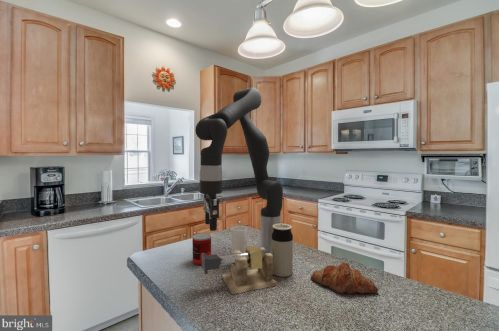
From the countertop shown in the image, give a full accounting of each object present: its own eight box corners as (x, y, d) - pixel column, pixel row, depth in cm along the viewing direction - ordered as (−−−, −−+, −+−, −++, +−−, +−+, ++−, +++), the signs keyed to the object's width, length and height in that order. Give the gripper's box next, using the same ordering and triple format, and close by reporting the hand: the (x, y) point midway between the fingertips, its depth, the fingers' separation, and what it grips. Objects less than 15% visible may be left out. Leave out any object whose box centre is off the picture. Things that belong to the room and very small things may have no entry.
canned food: (213, 258, 110) (213, 233, 110) (208, 266, 102) (208, 239, 102) (196, 257, 111) (195, 232, 111) (190, 265, 103) (189, 238, 103)
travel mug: (292, 278, 92) (292, 229, 91) (270, 276, 93) (270, 228, 93) (292, 268, 100) (293, 223, 99) (272, 267, 101) (272, 222, 101)
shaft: (263, 257, 94) (263, 244, 94) (269, 263, 89) (269, 249, 89) (201, 267, 86) (201, 252, 86) (204, 274, 81) (204, 259, 81)
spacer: (255, 261, 94) (255, 245, 93) (262, 268, 88) (262, 251, 88) (245, 263, 92) (245, 246, 92) (251, 269, 87) (251, 252, 86)
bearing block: (262, 270, 98) (262, 245, 98) (276, 285, 87) (276, 256, 86) (222, 277, 92) (222, 250, 92) (231, 294, 81) (231, 263, 81)
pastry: (333, 302, 77) (333, 276, 77) (309, 279, 92) (309, 257, 92) (379, 294, 81) (379, 270, 81) (349, 273, 96) (349, 252, 96)
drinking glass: (227, 265, 103) (227, 229, 102) (236, 259, 109) (236, 225, 108) (242, 269, 100) (242, 231, 99) (250, 262, 106) (250, 227, 105)
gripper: (227, 180, 79) (226, 232, 79) (217, 177, 92) (217, 221, 93) (203, 181, 76) (202, 234, 77) (196, 177, 90) (196, 222, 90)
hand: (210, 227), depth 85 cm, fingers open, 8 cm apart
